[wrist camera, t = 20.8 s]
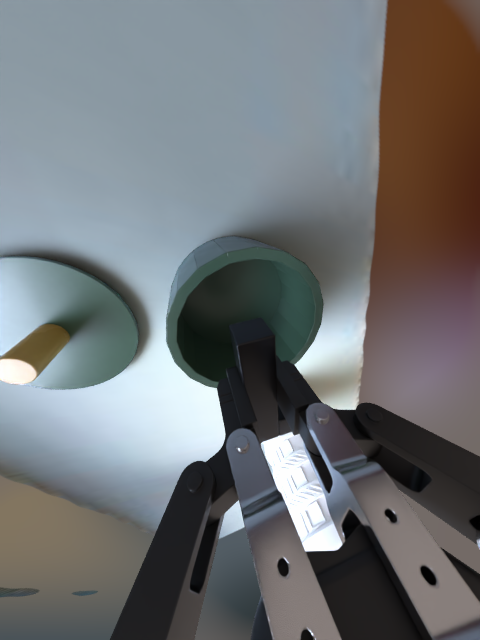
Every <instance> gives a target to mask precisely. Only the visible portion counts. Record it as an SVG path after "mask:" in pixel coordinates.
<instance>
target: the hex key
mask: <svg viewBox="0 0 480 640" xmlns="http://www.w3.org/2000/svg"><path fill="white" fill-rule="evenodd" d="M229 331H230V336H231V341H232V347H233V352H234V357H235V362H236V366H237V368H238V371H239V374H240V377H241V380H242V383H243V385H244V386H245V388H246V390H247V393H248V396H249V399H250V402H251V404H252V407H253V410H254V413H255V416H256V418H257V421H258V428H259V436H260V443H262V442H264V441H267V440H270V439H273V438H275V437H278V436H279V435H280V436H281V435H284V434H287V433H290V432H292V431H291V429H290V427H289V425H288V423H287V421H286V419H285V417H284V415H283V413H282V411H281V409H280V407H279V405H278V403H277V381H276V376H277V370H276V344H275V334H274V333H273V332H272V331H271V329H270V328H269V327H268V325H267V324H266V323H265V321H264V320H263V319H262V318H261V317H260V318H256V319H252V320H248V321H244V322H240V323H236V324H232V325H229Z"/></svg>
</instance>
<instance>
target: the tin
mask: <svg viewBox="0 0 480 640" xmlns="http://www.w3.org/2000/svg"><path fill="white" fill-rule="evenodd" d="M322 313H323V299H322V294H321V290H320V285H319V282H318V280H317V279H316V278H315V276H314V275H313V273H312V272H311V270H310V269H309V268H308V266H307V265H306V264H305V263H304V262H302V261H300V260H299V259H297V258H295V257H294V256H292V255H291V254H289V253H287V252H286V251H283V250H280V249H278V248H275V247H272V246H270V245H267V244H264V243H262V242H259V241H256V240H254V239H248V238H243V237H237V236H230V237H221V238H217V239H214V240H211V241H209V242H206V243H204V244H203V245H201V246H199V247H198V248H196V249H195V250H194V251H192V252H191V253H190V254H189V255H188V256H187V257H186V258H185V260H184V261H183V262H182V264H181V265H180V266H179V268H178V270H177V273H176V275H175V278H174V281H173V283H172V286H171V292H170V298H169V305H168V311H167V317H166V342H167V345H168V347H169V350H170V352H171V355H172V357H173V359H174V362H175V363H176V364H177V365H178V366H179V367H180V368H181V369H182V370H183V371H184V372H185V373H186V374H187V375H188V376H189V377H190V378H191V379H193V380H195V381H197V382H200V383H202V384H204V385H206V386H208V387H214V388H217V386H218V383H219V380H221V379H224V378H228V377H227V373H226V368H229V367H233V366H236V362H235V357H234V352H233V347H232V341H231V336H230V331H229V325H232V324H236V323H240V322H244V321H248V320H252V319H256V318H260V317H261V318H262V319H263V320H264V321H265V323H266V324H267V325H268V327H269V328H270V329H271V331H272V332H273V333H274V334H275V344H276V355H277V356H278V357H279V358H280V360H281V362H282V361H286V360H287V361H289V362H290V363H292V364H293V365H294V364H295V363H297V362H298V361H299V360H300V358H302V357H303V355H304V354H305V353H306V351H307V350H308V349H309V347H310V346H311V345H312V343H313V342H314V340H315V337H316V335H317V332H318V330H319V328H320V325H321V321H322Z"/></svg>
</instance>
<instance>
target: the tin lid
mask: <svg viewBox="0 0 480 640" xmlns="http://www.w3.org/2000/svg"><path fill="white" fill-rule="evenodd" d="M138 341H139V332H138V327H137V323H136V320H135V318H134V315H133V314H132V312H131V310H130V308H129V307H128V306H127V304H126V303H125V302H124V300H123V299H122V298H121V297H120V296H119V295H118V294H117V293H116V292H115V291H114V290H112V289H111V288H110V287H109V286H108V285H106V284H105V283H103V282H102V281H100V280H99V279H97V278H96V277H94V276H92V275H90V274H88V273H86V272H85V271H82V270H80V269H78V268H75V267H73V266H70V265H67V264H64V263H61V262H58V261H53V260H49V259H44V258H38V257H29V256H7V257H0V380H1V381H3V382H6V383H10V384H23V385H27V386H32V387H38V388H45V389H77V388H85V387H89V386H94V385H97V384H100V383H103V382H105V381H107V380H110V379H111V378H113V377H115V376H116V375H118V374H119V373H120V372H122V371H123V370H124V369H125V368H126V367H127V366H128V365H129V364H130V362H131V361H132V359H133V357H134V355H135V353H136V350H137V347H138Z"/></svg>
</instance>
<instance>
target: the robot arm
mask: <svg viewBox="0 0 480 640" xmlns="http://www.w3.org/2000/svg"><path fill="white" fill-rule="evenodd" d="M276 370H277V376H276V381H277V403H278V405H279V407H280V409H281V411H282V413H283V415H284V417H285V419H286V421H287V423H288V425H289V427H290V429H291V431H292V433H293V435H294V436H295V435H298V434H300V436H301V438H302V440H303V447H304V450H305V452H306V454H307V457H308V459H309V461H310V463H311V466H312V468H313V470H314V472H315V475H316V477H317V479H318V481H319V484H320V486H321V488H322V490H323V493H324V495H325V498H326V503H327V507H328V510H329V513H330V516H331V518H332V521H333V523H334V525H335V528H336V530H337V532H338V535H339V537H340V539H341V541H342V546H341V547H340V548H339V549H338V550H335V551H305V549H304V546H303V544H302V542H301V539H300V537H299V534H298V532H297V529H296V527H295V525H294V522H293V520H292V517H291V515H290V512H289V510H288V508H287V505H286V503H285V501H284V499H283V497H282V495H281V494H280V492H279V491H278V488H277V486H276V484H275V481H274V479H273V476H272V474H271V471H270V469H269V466H268V464H267V461H266V459H265V456H264V454H263V451H262V449H261V443H260V436H259V428H258V421H257V418H256V416H255V413H254V410H253V407H252V404H251V402H250V399H249V396H248V393H247V390H246V388H245V386H244V385H243V383H242V380H241V377H240V374H239V371H238V368H237V366H233V367H229V368H226V373H227V377H228V378H224V379H221V380H219V383H218V386H217V391H218V396H219V401H220V406H221V411H222V416H223V422H224V427H225V433H226V437H225V441H224V444H223V446H222V448H221V449H220V450H219V452H217V453H216V454H215V455H214V456H213V457H211V458H210V459H209V460H208V461H206V462H203V461H196V462H193V463H191V464H190V465H188V466H187V467H186V468H185V469H184V471H183V472H182V474H181V476H180V478H179V480H178V482H177V485H176V487H175V489H174V492H173V494H172V496H171V499H170V501H169V503H168V506H167V508H166V510H165V513H164V515H163V517H162V520H161V522H160V524H159V527H158V529H157V531H156V534H155V536H154V538H153V541H152V543H151V545H150V548H149V550H148V552H147V555H146V557H145V559H144V562H143V564H142V566H141V569H140V571H139V573H138V576H137V578H136V580H135V583H134V585H133V587H132V590H131V592H130V594H129V597H128V599H127V601H126V603H125V606H124V608H123V610H122V613H121V615H120V617H119V620H118V622H117V624H116V627H115V629H114V632H113V634H112V636H111V638H110V640H194V638H195V634H196V630H197V626H198V622H199V618H200V614H201V609H202V605H203V601H204V597H205V593H206V588H207V584H208V580H209V576H210V571H211V568H212V563H213V559H214V555H215V551H216V546H217V542H218V538H219V534H220V530H221V526H222V522H223V518H224V513H225V512H226V511H227V510H228V509H229V508H230V507H232V506H233V505H234V504H235V503H236V502H237V501H238V500H239V502H240V506H241V511H242V516H243V521H244V525H245V529H246V533H247V537H248V541H249V545H250V549H251V554H252V557H253V562H254V565H255V570H256V574H257V578H258V582H259V586H260V590H261V594H262V596H261V599H260V601H259V604H258V607H257V610H256V614H255V618H254V623H253V628H252V634H251V640H480V574H479V573H477V572H476V571H474V570H473V569H472V568H470V567H469V566H467V565H466V564H464V563H463V562H461V561H460V560H458V559H457V558H456V557H454V556H453V555H451V554H450V553H448V552H447V551H445V550H444V549H442V548H441V547H440V546H439V545H438V544H437V542H436V541H435V539H434V538H433V537H432V535H431V534H430V533H429V531H428V530H427V528H426V527H425V525H424V524H423V523H422V521H421V520H420V519H419V517H418V516H417V515H416V513H415V512H414V510H413V509H412V508H411V506H410V505H409V503H408V502H407V501H406V499H405V498H404V496H403V495H402V494H401V492H400V491H402V492H403V493H405V494H406V495H408V496H409V497H410V498H412V499H413V500H415V501H416V502H417V503H419V504H420V505H422V506H423V507H425V508H426V509H427V510H429V511H430V512H432V513H433V514H434V515H436V516H437V517H439V518H440V519H442V520H443V521H445V522H446V523H447V524H449V525H450V526H452V527H453V528H454V529H456V530H457V531H459V532H460V533H461V534H463V535H464V536H466V537H467V538H469V539H470V540H472V541H473V542H474V543H476V544H477V545H478V547H479V549H480V457H479V456H477V455H475V454H473V453H471V452H469V451H467V450H465V449H463V448H461V447H459V446H457V445H455V444H453V443H451V442H449V441H447V440H445V439H443V438H441V437H439V436H437V435H435V434H434V433H432V432H429V431H428V430H426V429H424V428H421V427H420V426H418V425H416V424H414V423H412V422H410V421H408V420H406V419H404V418H401V417H400V416H397V415H396V414H394V413H392V412H390V411H387V410H386V409H384V408H382V407H380V406H378V405H375V404H372V403H361V404H359V405H358V406H357V408H356V410H337V409H333V408H331V407H330V406H328V405H326V404H323V403H322V402H321V401H320V400H319V398H318V397H317V396H316V394H315V393H314V391H313V390H312V389H311V387H310V386H309V385H308V383H307V382H306V380H305V379H304V378H303V376H302V375H301V374H300V373H299V371H298V370H297V368H296V367H295V365H293V364H292V363H290V362H289V361H287V360H286V361H282V362H281V360H280V358H279V357H278V356H277V355H276ZM399 490H400V491H399ZM387 518H388V519H389V520H390V521H389V520H388V519H387Z"/></svg>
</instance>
